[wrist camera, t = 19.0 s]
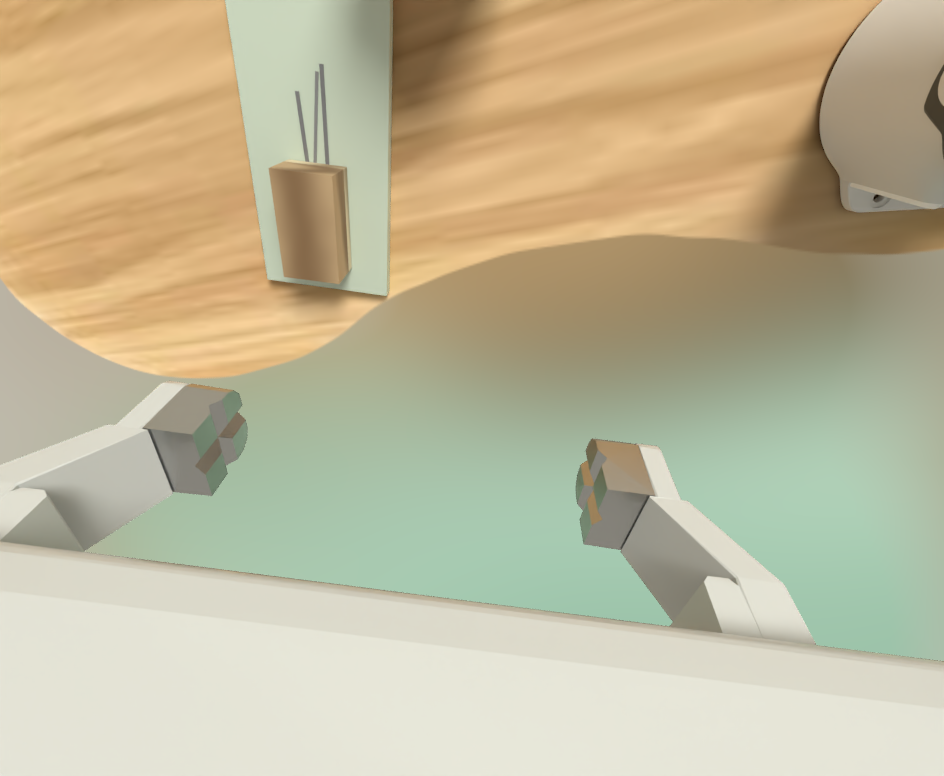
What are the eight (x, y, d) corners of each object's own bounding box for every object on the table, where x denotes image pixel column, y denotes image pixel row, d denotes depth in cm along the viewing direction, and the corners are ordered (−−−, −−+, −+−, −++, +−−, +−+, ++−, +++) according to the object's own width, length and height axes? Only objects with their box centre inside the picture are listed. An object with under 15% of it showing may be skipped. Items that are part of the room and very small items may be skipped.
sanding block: (346, 166, 39) (332, 176, 35) (351, 267, 44) (339, 284, 41) (288, 159, 39) (268, 167, 35) (300, 261, 44) (283, 276, 41)
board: (393, -19, 33) (389, -22, 31) (389, 291, 47) (386, 296, 45) (226, -45, 32) (216, -48, 31) (272, 274, 46) (267, 279, 45)
